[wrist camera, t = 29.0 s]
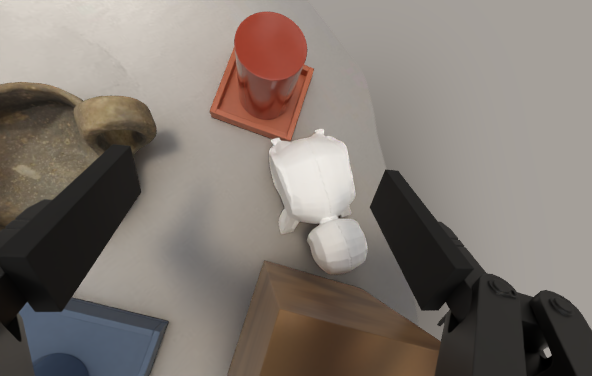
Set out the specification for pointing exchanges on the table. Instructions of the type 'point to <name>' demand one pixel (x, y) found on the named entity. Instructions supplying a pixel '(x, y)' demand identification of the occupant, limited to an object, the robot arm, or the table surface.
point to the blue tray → (96, 337)
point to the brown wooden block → (326, 331)
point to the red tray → (234, 113)
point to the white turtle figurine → (319, 198)
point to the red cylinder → (268, 63)
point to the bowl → (59, 139)
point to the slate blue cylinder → (59, 366)
